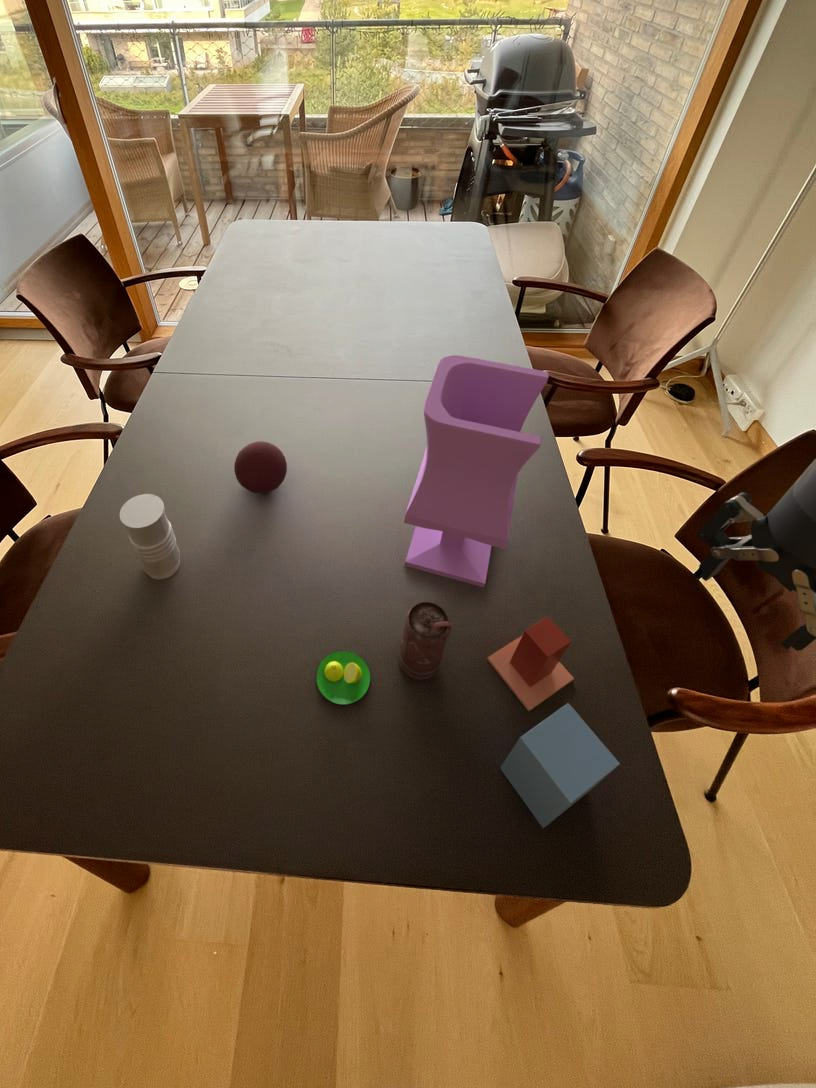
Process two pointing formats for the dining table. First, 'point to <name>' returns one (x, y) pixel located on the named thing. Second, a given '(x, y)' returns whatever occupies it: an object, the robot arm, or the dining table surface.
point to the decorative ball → (260, 467)
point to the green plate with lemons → (343, 677)
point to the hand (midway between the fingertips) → (746, 607)
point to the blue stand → (557, 764)
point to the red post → (539, 651)
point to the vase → (470, 464)
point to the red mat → (517, 684)
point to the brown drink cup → (423, 642)
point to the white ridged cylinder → (151, 535)
